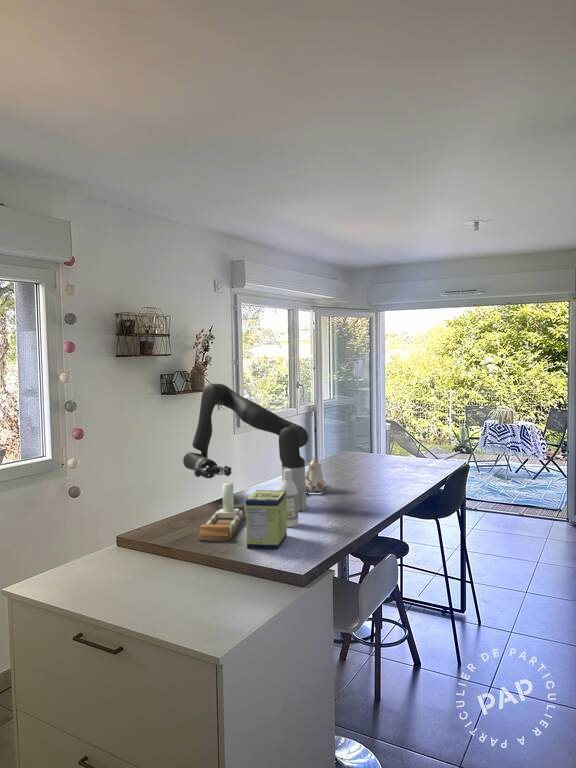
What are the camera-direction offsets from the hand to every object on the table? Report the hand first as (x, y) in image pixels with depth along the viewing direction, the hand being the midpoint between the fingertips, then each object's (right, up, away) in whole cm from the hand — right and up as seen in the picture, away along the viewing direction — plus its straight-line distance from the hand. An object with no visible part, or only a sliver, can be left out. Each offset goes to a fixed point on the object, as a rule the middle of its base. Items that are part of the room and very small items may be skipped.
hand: (218, 474), depth 228 cm
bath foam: (+28, -16, -17) cm, 36 cm away
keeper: (+5, -14, -10) cm, 18 cm away
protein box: (+21, -17, -36) cm, 45 cm away
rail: (+4, -16, -19) cm, 25 cm away
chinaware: (+37, -14, +36) cm, 53 cm away
